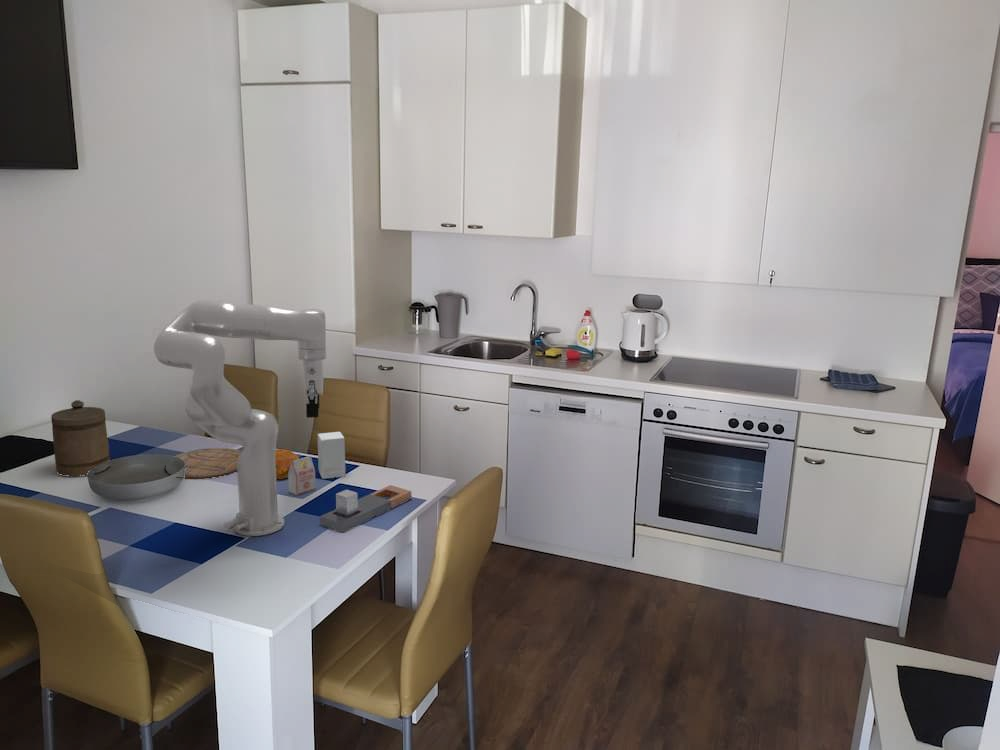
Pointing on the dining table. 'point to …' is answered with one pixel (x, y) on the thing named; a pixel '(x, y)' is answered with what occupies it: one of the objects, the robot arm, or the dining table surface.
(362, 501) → the rail
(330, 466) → the supplement box
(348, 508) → the steel peg
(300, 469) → the white printed paper bag
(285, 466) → the croissant
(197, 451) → the trivet
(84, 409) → the wooden container
